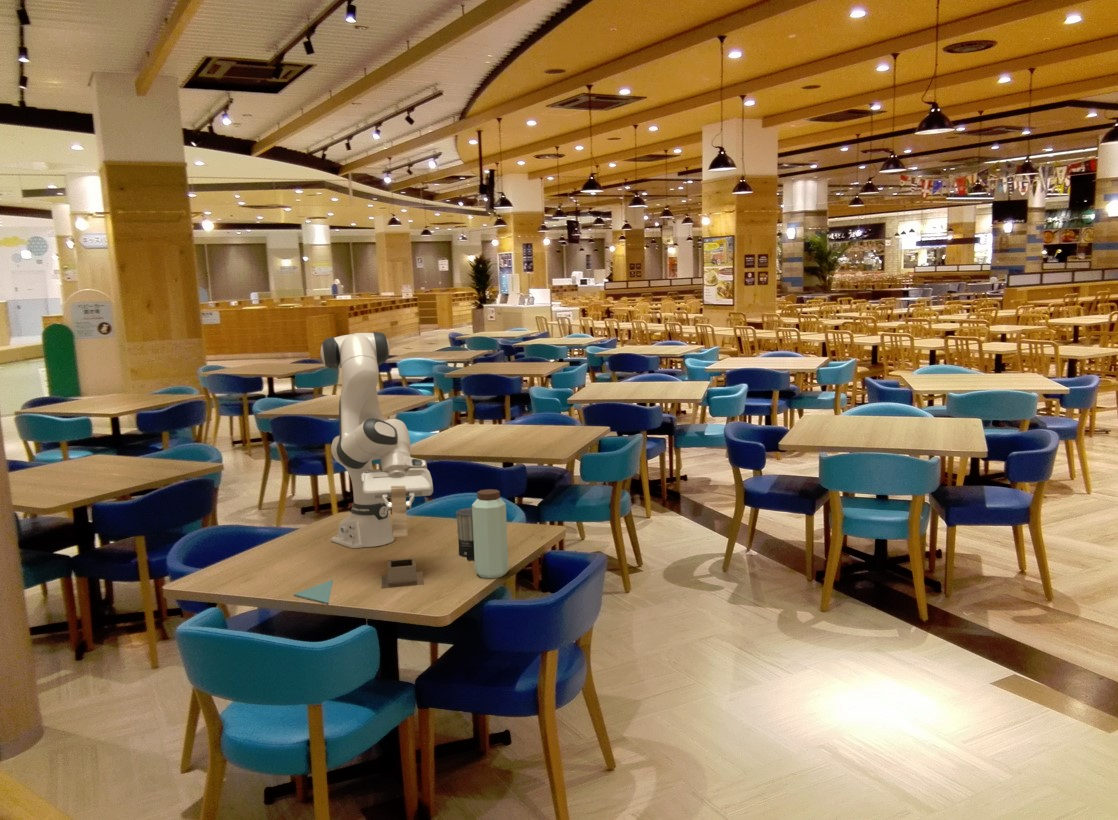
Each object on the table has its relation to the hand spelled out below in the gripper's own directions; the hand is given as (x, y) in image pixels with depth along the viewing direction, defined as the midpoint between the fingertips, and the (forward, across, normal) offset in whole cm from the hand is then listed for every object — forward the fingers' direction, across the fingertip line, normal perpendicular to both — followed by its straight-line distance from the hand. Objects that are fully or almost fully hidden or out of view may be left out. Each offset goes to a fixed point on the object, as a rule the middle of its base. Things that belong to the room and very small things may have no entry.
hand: (399, 508), depth 249 cm
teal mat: (+17, -19, +15) cm, 30 cm away
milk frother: (0, +26, +32) cm, 41 cm away
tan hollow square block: (+16, 0, +16) cm, 22 cm away
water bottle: (+15, +26, +16) cm, 34 cm away
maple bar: (+5, 0, +6) cm, 8 cm away
